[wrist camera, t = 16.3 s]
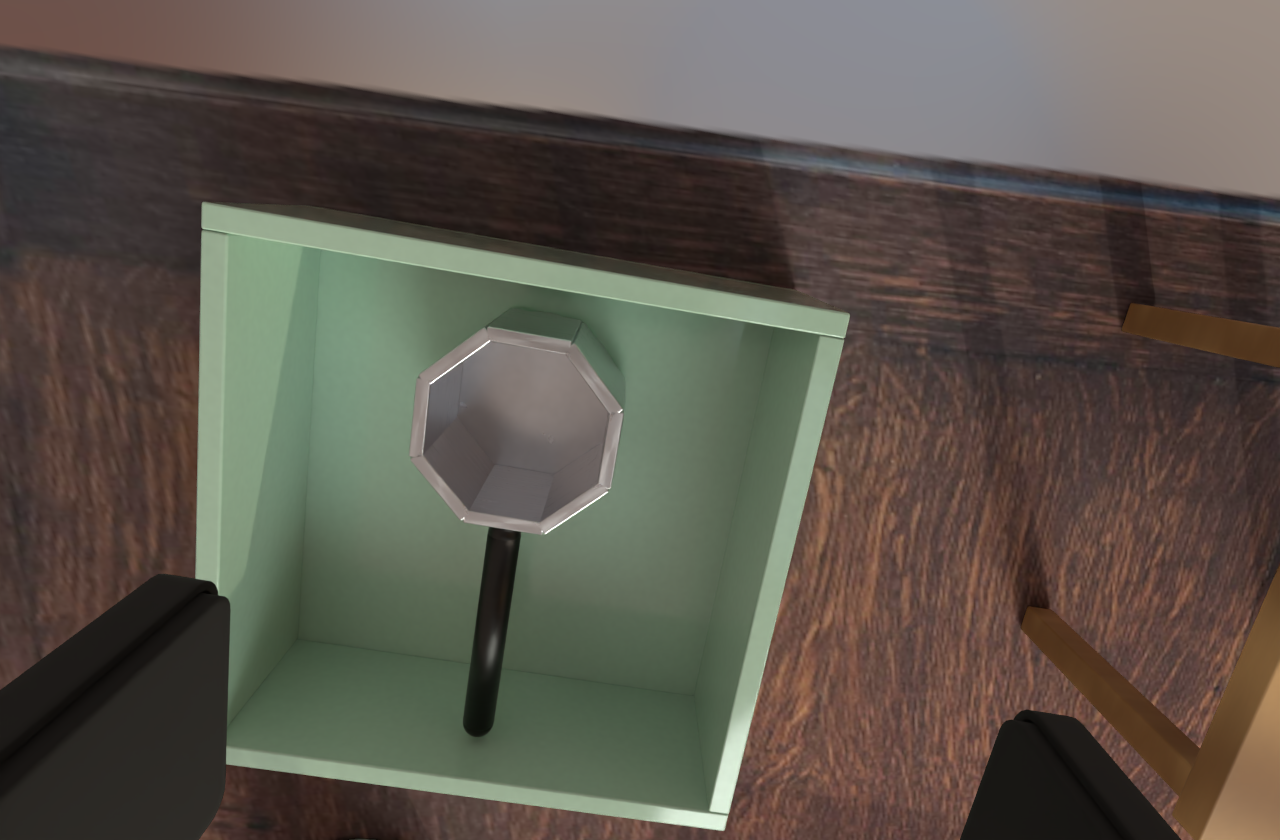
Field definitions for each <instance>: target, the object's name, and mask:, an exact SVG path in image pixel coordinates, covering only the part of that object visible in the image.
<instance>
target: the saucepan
mask: <svg viewBox="0 0 1280 840" xmlns="http://www.w3.org/2000/svg"><path fill="white" fill-rule="evenodd" d="M625 390H626V381H625V377H624V376H623V374H622V373H621V372H620V370H619V369H618V368H617V366H616V365H615V363H614V362H613V360H612V358H611V356H610V354H609V353H608V351H607V350H606V348H605V347H604V346H603V344H602V343H601V342H600V341H599V340H598V339H597V338H596V337H595V336H594V334H593V333H592V331H591V330H590V329H589V327H588V326H587V325H586V323H585V322H583V323H582V320H578V319H572V318H566V317H563V316H560V315H556V314H552V313H548V312H538V311H526V310H520V309H515V308H512V309H508V310H506V311H505V312H504V313H502V314H501V315H499V316H498V317H497V318H495V319H494V320H493V321H491V322H490V323H488V324H487V325H486V326H484V327H483V328H482V329H480V330H479V331H477V332H476V333H475V334H473V335H472V336H471V337H469V338H468V339H466V340H465V341H464V342H462V343H461V344H460V345H458V346H457V347H455V348H454V349H453V350H451V351H450V352H449V353H447V354H446V355H444V356H443V357H442V358H440V359H439V360H438V361H436V362H435V363H433V364H432V365H431V366H429V367H428V368H427V369H425V370H424V371H422V372H421V373H420V374H419V377H417V379H416V387H415V397H414V407H413V417H412V427H411V437H410V447H409V456H410V457H411V458H410V460H411V462H412V463H413V464H414V465H415V466H416V468H417V469H418V470H419V471H420V473H421V474H422V475H423V476H424V477H425V479H426V480H427V481H428V482H429V483H430V485H431V486H432V487H433V488H434V489H435V491H436V492H437V493H438V494H439V496H440V497H441V498H442V499H443V500H444V502H445V503H446V504H447V505H448V506H449V508H450V509H451V510H452V511H453V513H454V514H455V515H456V516H457V517H458V519H459V520H460V521H461V520H463V522H464V523H468V524H475V525H481V526H487V527H489V529H488V534H487V541H486V549H485V556H484V564H483V571H482V579H481V586H480V594H479V602H478V609H477V617H476V624H475V632H474V639H473V647H472V654H471V662H470V669H469V677H468V684H467V692H466V700H465V707H464V715H463V727H464V729H465V731H466V732H467V733H468V734H469V735H470V736H473V737H482V736H484V735H486V734H487V733H488V732H489V731H490V730H491V729H492V727H493V724H494V718H495V712H496V705H497V698H498V691H499V684H500V677H501V670H502V663H503V657H504V650H505V643H506V636H507V629H508V622H509V615H510V608H511V602H512V595H513V588H514V581H515V574H516V567H517V560H518V553H519V547H520V540H521V532H525V533H532V534H538V535H542V534H543V533H544V534H547V533H548V532H550V531H551V530H553V529H554V528H556V527H557V526H559V525H560V524H562V523H563V522H565V521H566V520H568V519H569V518H571V517H572V516H574V515H575V514H577V513H578V512H580V511H581V510H583V509H584V508H586V507H587V506H589V505H590V504H592V503H593V502H595V501H596V500H598V499H599V498H601V497H602V496H604V495H605V494H607V493H608V492H609V489H611V487H612V481H613V476H614V470H615V464H616V459H617V453H618V447H619V442H620V436H621V430H622V425H623V419H624V412H625Z"/></svg>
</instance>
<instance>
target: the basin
mask: <svg viewBox="0 0 1280 840" xmlns="http://www.w3.org/2000/svg"><path fill="white" fill-rule="evenodd" d="M201 227H202V228H203V229H205V230H202V232H201V284H200V342H199V400H198V458H197V517H196V575H195V579H200V580H206V581H211V582H213V583H214V584H215V585H216V587H217V590H218V595H219V596H225V597H227V598H228V599H229V602H230V609H231V613H230V646H229V679H228V712H227V745H226V764H228V765H235V766H243V767H250V768H258V769H265V770H273V771H280V772H287V773H295V774H302V775H310V776H317V777H325V778H332V779H340V780H347V781H355V782H362V783H369V784H377V785H384V786H392V787H399V788H407V789H414V790H422V791H429V792H436V793H444V794H451V795H459V796H466V797H474V798H481V799H489V800H496V801H504V802H511V803H518V804H526V805H533V806H541V807H548V808H556V809H563V810H571V811H578V812H585V813H593V814H600V815H608V816H615V817H623V818H630V819H638V820H645V821H653V822H660V823H667V824H675V825H682V826H690V827H697V828H705V829H712V830H720V831H724V830H725V827H726V823H727V819H728V814H729V811H730V807H731V803H732V799H733V795H734V791H735V787H736V783H737V779H738V774H739V770H740V766H741V762H742V758H743V754H744V750H745V746H746V742H747V738H748V733H749V729H750V725H751V721H752V717H753V713H754V709H755V705H756V701H757V696H758V692H759V688H760V684H761V680H762V676H763V672H764V668H765V664H766V660H767V655H768V651H769V647H770V643H771V639H772V635H773V631H774V627H775V623H776V619H777V614H778V610H779V606H780V602H781V598H782V594H783V590H784V586H785V582H786V578H787V573H788V569H789V565H790V561H791V557H792V553H793V549H794V545H795V541H796V537H797V532H798V528H799V524H800V520H801V516H802V512H803V508H804V504H805V500H806V495H807V491H808V487H809V483H810V479H811V475H812V471H813V467H814V463H815V459H816V454H817V450H818V446H819V442H820V438H821V434H822V430H823V426H824V422H825V418H826V413H827V409H828V405H829V401H830V397H831V393H832V389H833V385H834V381H835V377H836V372H837V368H838V364H839V360H840V356H841V352H842V348H843V344H844V339H842V338H844V337H845V335H846V331H847V327H848V323H849V319H850V314H849V313H847V312H845V311H843V310H841V309H838V308H836V307H834V306H831V305H829V304H827V303H825V302H822V301H820V300H818V299H816V298H813V297H811V296H809V295H806V294H804V293H802V292H800V291H797V290H794V289H788V288H783V287H777V286H771V285H765V284H760V283H754V282H748V281H742V280H737V279H731V278H725V277H719V276H714V275H708V274H702V273H696V272H690V271H685V270H679V269H673V268H667V267H662V266H656V265H650V264H644V263H639V262H633V261H627V260H621V259H616V258H610V257H604V256H598V255H593V254H587V253H581V252H575V251H570V250H564V249H558V248H552V247H547V246H541V245H535V244H529V243H524V242H518V241H512V240H506V239H501V238H495V237H489V236H483V235H478V234H472V233H466V232H460V231H455V230H449V229H443V228H437V227H432V226H426V225H420V224H414V223H409V222H403V221H397V220H391V219H386V218H380V217H374V216H368V215H363V214H357V213H351V212H345V211H340V210H334V209H328V208H322V207H317V206H303V205H277V204H252V203H226V202H202V217H201ZM512 308H515V309H520V310H526V311H538V312H548V313H552V314H556V315H560V316H563V317H566V318H572V319H578V320H582V323H583V322H585V323H586V325H587V326H588V327H589V329H590V330H591V331H592V333H593V334H594V336H595V337H596V338H597V339H598V340H599V341H600V342H601V343H602V344H603V346H604V347H605V348H606V350H607V351H608V353H609V354H610V356H611V358H612V360H613V362H614V363H615V365H616V366H617V368H618V369H619V370H620V372H621V373H622V374H623V376H624V377H625V381H626V390H625V412H624V419H623V425H622V430H621V436H620V442H619V447H618V453H617V459H616V464H615V470H614V476H613V481H612V487H611V489H609V492H608V493H607V494H605V495H604V496H602V497H601V498H599V499H598V500H596V501H595V502H593V503H592V504H590V505H589V506H587V507H586V508H584V509H583V510H581V511H580V512H578V513H577V514H575V515H574V516H572V517H571V518H569V519H568V520H566V521H565V522H563V523H562V524H560V525H559V526H557V527H556V528H554V529H553V530H551V531H550V532H548V533H547V534H544V533H543V534H542V535H538V534H532V533H525V532H521V540H520V547H519V553H518V560H517V567H516V574H515V581H514V588H513V595H512V602H511V608H510V615H509V622H508V629H507V636H506V643H505V650H504V657H503V663H502V670H501V677H500V684H499V691H498V698H497V705H496V712H495V718H494V724H493V727H492V729H491V730H490V731H489V732H488V733H487V734H486V735H484V736H482V737H473V736H470V735H469V734H468V733H467V732H466V731H465V729H464V727H463V715H464V707H465V700H466V692H467V684H468V677H469V669H470V662H471V654H472V647H473V639H474V632H475V624H476V617H477V609H478V602H479V594H480V586H481V579H482V571H483V564H484V556H485V549H486V541H487V534H488V529H489V527H487V526H481V525H475V524H468V523H464V522H463V520H461V521H460V520H459V519H458V517H457V516H456V515H455V514H454V513H453V511H452V510H451V509H450V508H449V506H448V505H447V504H446V503H445V502H444V500H443V499H442V498H441V497H440V496H439V494H438V493H437V492H436V491H435V489H434V488H433V487H432V486H431V485H430V483H429V482H428V481H427V480H426V479H425V477H424V476H423V475H422V474H421V473H420V471H419V470H418V469H417V468H416V466H415V465H414V464H413V463H412V462H411V460H410V458H411V457H410V456H409V447H410V437H411V427H412V417H413V407H414V397H415V387H416V379H417V377H419V374H420V373H421V372H422V371H424V370H425V369H427V368H428V367H429V366H431V365H432V364H433V363H435V362H436V361H438V360H439V359H440V358H442V357H443V356H444V355H446V354H447V353H449V352H450V351H451V350H453V349H454V348H455V347H457V346H458V345H460V344H461V343H462V342H464V341H465V340H466V339H468V338H469V337H471V336H472V335H473V334H475V333H476V332H477V331H479V330H480V329H482V328H483V327H484V326H486V325H487V324H488V323H490V322H491V321H493V320H494V319H495V318H497V317H498V316H499V315H501V314H502V313H504V312H505V311H506V310H508V309H512Z"/></svg>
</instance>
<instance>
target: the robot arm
mask: <svg viewBox="0 0 1280 840" xmlns="http://www.w3.org/2000/svg"><path fill="white" fill-rule="evenodd" d="M230 613H231V609H230V602H229V599H228V598H227V597H225V596H219V595H218V590H217V587H216V585H215V584H214V583H213V582H211V581H206V580H200V579H194V578H187V577H181V576H175V575H168V574H158V575H156V576H154V577H152V578H151V579H149V580H148V581H147V582H145V583H144V584H142V585H141V586H140V587H138V588H137V589H136V590H134V591H133V592H132V593H130V594H129V595H128V596H126V597H125V598H124V599H122V600H121V601H120V602H118V603H117V604H116V605H114V606H113V607H112V608H110V609H109V610H108V611H106V612H105V613H103V614H102V615H101V616H99V617H98V618H97V619H95V620H94V621H93V622H91V623H90V624H89V625H87V626H86V627H85V628H83V629H82V630H81V631H79V632H78V633H77V634H75V635H74V636H73V637H71V638H70V639H69V640H67V641H66V642H64V643H63V644H62V645H60V646H59V647H58V648H56V649H55V650H54V651H52V652H51V653H50V654H48V655H47V656H46V657H44V658H43V659H42V660H40V661H39V662H38V663H36V664H35V665H34V666H32V667H31V668H30V669H28V670H27V671H25V672H24V673H23V674H21V675H20V676H19V677H17V678H16V679H15V680H13V681H12V682H11V683H9V684H8V685H7V686H5V687H4V688H3V689H1V690H0V840H199V839H200V837H201V836H202V834H203V833H204V831H205V830H206V829H207V827H208V826H209V824H210V823H211V821H212V820H213V818H214V817H215V815H216V813H217V811H218V809H219V806H220V803H221V801H222V798H223V794H224V790H225V778H226V745H227V712H228V679H229V646H230ZM960 840H1181V839H1180V838H1179V836H1178V835H1177V834H1176V833H1175V832H1174V831H1173V829H1172V828H1171V827H1170V826H1169V825H1168V824H1167V822H1166V821H1165V820H1164V819H1163V818H1162V817H1161V815H1160V814H1159V813H1158V812H1157V811H1156V810H1155V808H1154V807H1153V806H1152V805H1151V804H1150V803H1149V801H1148V800H1147V799H1146V798H1145V797H1144V796H1143V794H1142V793H1141V792H1140V791H1139V790H1138V789H1137V787H1136V786H1135V785H1134V784H1133V783H1132V782H1131V780H1130V779H1129V778H1128V777H1127V776H1126V775H1125V773H1124V772H1123V771H1122V770H1121V769H1120V768H1119V766H1118V765H1117V764H1116V763H1115V762H1114V761H1113V759H1112V758H1111V757H1110V756H1109V755H1108V754H1107V752H1106V751H1105V750H1104V749H1103V748H1102V746H1101V745H1100V744H1099V743H1098V742H1097V741H1096V739H1095V738H1094V737H1093V736H1092V735H1091V734H1090V732H1089V731H1088V730H1087V729H1086V728H1085V727H1084V725H1083V724H1082V723H1080V722H1079V721H1078V720H1077V719H1076V718H1072V717H1069V716H1063V715H1057V714H1051V713H1044V712H1038V711H1031V710H1024V711H1021V712H1020V713H1018V714H1017V715H1016V716H1015V718H1014V720H1007V721H1006V722H1004V723H1003V724H1002V726H1001V728H1000V730H999V733H998V736H997V738H996V741H995V744H994V747H993V750H992V752H991V755H990V758H989V761H988V763H987V766H986V769H985V772H984V775H983V777H982V780H981V783H980V786H979V788H978V791H977V794H976V797H975V800H974V802H973V805H972V808H971V811H970V813H969V816H968V819H967V822H966V825H965V827H964V830H963V833H962V836H961V838H960Z"/></svg>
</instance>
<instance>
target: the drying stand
mask: <svg viewBox="0 0 1280 840" xmlns="http://www.w3.org/2000/svg"><path fill="white" fill-rule="evenodd" d="M1122 331H1123V332H1127V333H1131V334H1135V335H1140V336H1144V337H1148V338H1152V339H1157V340H1161V341H1165V342H1170V343H1174V344H1178V345H1183V346H1187V347H1191V348H1196V349H1200V350H1204V351H1209V352H1213V353H1217V354H1222V355H1226V356H1230V357H1234V358H1239V359H1243V360H1247V361H1252V362H1256V363H1260V364H1265V365H1269V366H1273V367H1278V368H1280V328H1278V327H1272V326H1266V325H1260V324H1254V323H1248V322H1243V321H1237V320H1231V319H1225V318H1219V317H1213V316H1207V315H1201V314H1195V313H1189V312H1184V311H1178V310H1172V309H1166V308H1160V307H1154V306H1148V305H1142V304H1136V303H1131V304H1130V306H1129V309H1128V312H1127V315H1126V318H1125V321H1124V324H1123V327H1122ZM1021 629H1022V631H1023V632H1024V633H1025V634H1026V635H1027V636H1028V637H1029V638H1030V639H1031V640H1032V641H1033V642H1034V643H1035V644H1036V645H1037V646H1038V647H1039V649H1040V650H1041V651H1042V652H1043V653H1044V654H1045V655H1046V656H1047V657H1048V658H1049V659H1050V660H1051V661H1052V662H1053V663H1054V664H1055V665H1056V667H1057V668H1058V669H1059V670H1060V671H1061V672H1062V673H1063V674H1064V675H1065V676H1066V677H1067V678H1068V679H1069V680H1070V681H1071V682H1072V683H1073V685H1074V686H1075V687H1076V688H1077V689H1078V690H1079V691H1080V692H1081V693H1082V694H1083V695H1084V696H1085V697H1086V698H1087V699H1088V700H1089V702H1090V703H1091V704H1092V705H1093V706H1094V707H1095V708H1096V709H1097V710H1098V711H1099V712H1100V713H1101V714H1102V715H1103V716H1104V717H1105V718H1106V720H1107V721H1108V722H1109V723H1110V724H1111V725H1112V726H1113V727H1114V728H1115V729H1116V730H1117V731H1118V732H1119V733H1120V734H1121V735H1122V736H1123V738H1124V739H1125V740H1126V741H1127V742H1128V743H1129V744H1130V745H1131V746H1132V747H1133V748H1134V749H1135V750H1136V751H1137V752H1138V753H1139V754H1140V756H1141V757H1142V758H1143V759H1144V760H1145V761H1146V762H1147V763H1148V764H1149V765H1150V766H1151V767H1152V768H1153V769H1154V770H1155V771H1156V773H1157V774H1158V775H1159V776H1160V777H1161V778H1162V779H1163V780H1164V781H1165V782H1166V783H1167V784H1168V785H1169V786H1170V787H1171V788H1172V789H1173V791H1174V792H1175V793H1176V794H1177V795H1178V796H1179V799H1178V801H1177V803H1176V806H1175V808H1174V810H1173V813H1172V815H1173V817H1174V818H1175V819H1176V820H1177V821H1178V822H1179V823H1180V824H1181V826H1182V827H1183V828H1184V829H1185V830H1186V831H1187V832H1188V833H1189V834H1190V835H1191V837H1192V838H1193V839H1194V840H1280V564H1279V566H1278V569H1277V571H1276V573H1275V576H1274V578H1273V580H1272V583H1271V585H1270V587H1269V590H1268V592H1267V594H1266V597H1265V599H1264V601H1263V604H1262V606H1261V608H1260V611H1259V613H1258V615H1257V618H1256V620H1255V622H1254V625H1253V627H1252V629H1251V632H1250V634H1249V636H1248V638H1247V641H1246V643H1245V645H1244V648H1243V650H1242V652H1241V655H1240V657H1239V659H1238V662H1237V664H1236V666H1235V669H1234V671H1233V673H1232V676H1231V678H1230V680H1229V683H1228V685H1227V687H1226V690H1225V692H1224V694H1223V697H1222V699H1221V701H1220V704H1219V706H1218V708H1217V710H1216V713H1215V715H1214V717H1213V720H1212V722H1211V724H1210V727H1209V729H1208V731H1207V734H1206V736H1205V738H1204V741H1203V743H1202V745H1201V748H1199V747H1198V746H1197V745H1196V744H1195V743H1193V742H1192V741H1191V740H1190V739H1189V738H1188V737H1187V736H1186V735H1185V734H1184V733H1183V732H1182V731H1181V730H1180V729H1179V728H1177V727H1176V726H1175V725H1174V724H1173V723H1172V722H1171V721H1170V720H1169V719H1168V718H1167V717H1166V716H1165V715H1164V714H1162V713H1161V712H1160V711H1159V710H1158V709H1157V708H1156V707H1155V706H1154V705H1153V704H1152V703H1151V702H1150V701H1149V700H1148V699H1146V698H1145V697H1144V696H1143V695H1142V694H1141V693H1140V692H1139V691H1138V690H1137V689H1136V688H1135V687H1134V686H1133V685H1132V684H1130V683H1129V682H1128V681H1127V680H1126V679H1125V678H1124V677H1123V676H1122V675H1121V674H1120V673H1119V672H1118V671H1117V670H1115V669H1114V668H1113V667H1112V666H1111V665H1110V664H1109V663H1108V662H1107V661H1106V660H1105V659H1104V658H1103V657H1102V656H1101V655H1099V654H1098V653H1097V652H1096V651H1095V650H1094V649H1093V648H1092V647H1091V646H1090V645H1089V644H1088V643H1087V642H1086V641H1085V640H1083V639H1082V638H1081V637H1080V636H1079V635H1078V634H1077V633H1076V632H1075V631H1074V630H1073V629H1072V628H1071V627H1070V626H1068V625H1067V624H1066V623H1065V622H1064V621H1063V620H1062V619H1061V618H1060V617H1059V616H1058V615H1057V614H1056V613H1055V612H1054V611H1052V610H1049V609H1043V608H1036V607H1030V606H1028V607H1027V610H1026V613H1025V616H1024V619H1023V622H1022V625H1021Z"/></svg>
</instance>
